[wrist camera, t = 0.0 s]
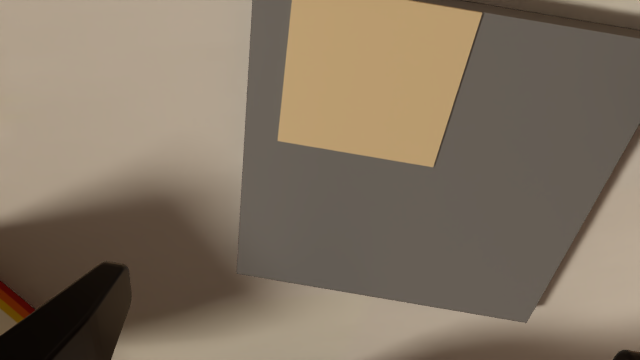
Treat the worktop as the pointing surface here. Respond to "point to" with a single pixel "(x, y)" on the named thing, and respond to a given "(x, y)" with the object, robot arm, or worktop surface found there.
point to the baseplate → (428, 147)
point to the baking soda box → (11, 308)
